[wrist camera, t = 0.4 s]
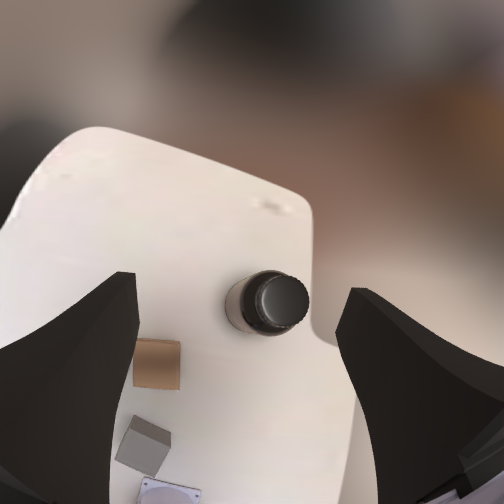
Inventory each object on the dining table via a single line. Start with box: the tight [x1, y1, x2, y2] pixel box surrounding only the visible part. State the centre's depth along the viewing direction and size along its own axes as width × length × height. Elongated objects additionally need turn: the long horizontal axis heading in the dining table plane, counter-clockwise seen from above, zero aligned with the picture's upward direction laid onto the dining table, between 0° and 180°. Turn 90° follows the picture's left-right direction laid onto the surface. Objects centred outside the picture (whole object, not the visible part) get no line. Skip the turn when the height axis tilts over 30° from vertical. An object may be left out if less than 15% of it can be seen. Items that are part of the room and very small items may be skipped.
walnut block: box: [133, 338, 180, 390], centre depth 31 cm, size 5×5×5 cm
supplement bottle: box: [225, 270, 310, 336], centre depth 32 cm, size 7×7×12 cm
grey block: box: [115, 415, 171, 478], centre depth 28 cm, size 5×5×5 cm
